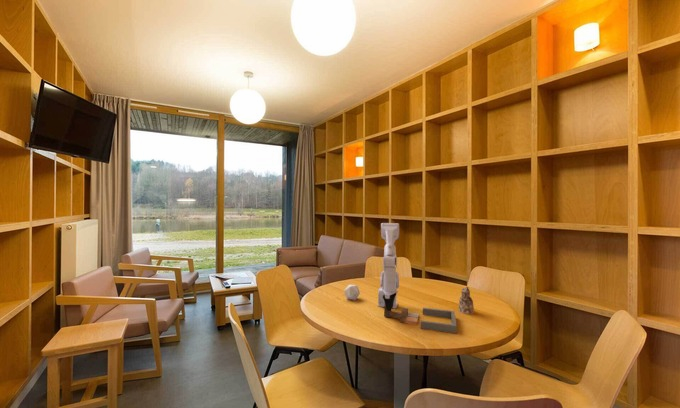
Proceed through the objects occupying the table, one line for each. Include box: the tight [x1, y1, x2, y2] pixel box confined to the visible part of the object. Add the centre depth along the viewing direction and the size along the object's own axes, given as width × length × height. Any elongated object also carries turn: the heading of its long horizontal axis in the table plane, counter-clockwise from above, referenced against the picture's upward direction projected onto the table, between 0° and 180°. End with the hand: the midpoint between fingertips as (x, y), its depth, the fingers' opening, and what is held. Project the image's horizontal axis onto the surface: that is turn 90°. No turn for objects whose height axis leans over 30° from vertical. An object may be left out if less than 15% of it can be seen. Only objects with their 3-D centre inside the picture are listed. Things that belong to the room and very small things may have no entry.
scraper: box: [383, 305, 409, 324], centre depth 140 cm, size 10×11×9 cm
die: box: [343, 284, 361, 301], centre depth 168 cm, size 8×9×10 cm
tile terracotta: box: [405, 317, 419, 325], centre depth 135 cm, size 5×5×2 cm
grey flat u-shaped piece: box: [420, 307, 458, 334], centre depth 134 cm, size 14×19×3 cm
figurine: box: [457, 286, 475, 315], centre depth 149 cm, size 7×7×12 cm
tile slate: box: [407, 311, 420, 319], centre depth 140 cm, size 5×5×2 cm
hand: (389, 309), depth 141 cm, fingers closed on scraper, 3 cm apart
